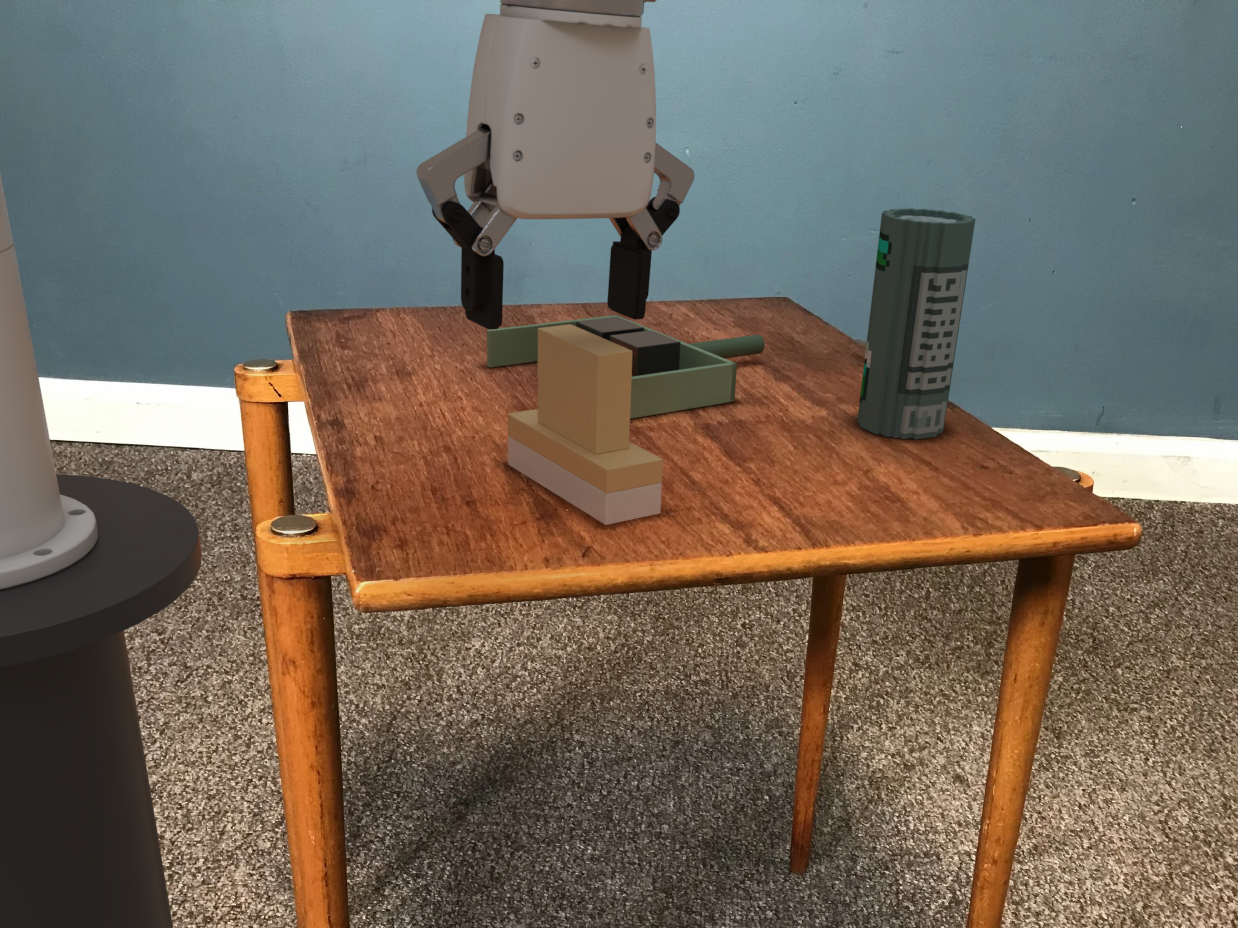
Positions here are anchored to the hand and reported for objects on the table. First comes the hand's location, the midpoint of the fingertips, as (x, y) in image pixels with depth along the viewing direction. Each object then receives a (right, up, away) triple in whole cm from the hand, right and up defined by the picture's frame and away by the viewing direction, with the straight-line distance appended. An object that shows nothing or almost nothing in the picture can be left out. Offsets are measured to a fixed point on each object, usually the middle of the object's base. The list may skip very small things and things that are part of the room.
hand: (556, 318), depth 76 cm
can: (+24, -3, +21) cm, 32 cm away
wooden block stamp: (+1, -9, +6) cm, 11 cm away
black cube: (+5, +1, +26) cm, 27 cm away
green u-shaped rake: (+6, +3, +30) cm, 30 cm away
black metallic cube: (+2, +3, +30) cm, 30 cm away
